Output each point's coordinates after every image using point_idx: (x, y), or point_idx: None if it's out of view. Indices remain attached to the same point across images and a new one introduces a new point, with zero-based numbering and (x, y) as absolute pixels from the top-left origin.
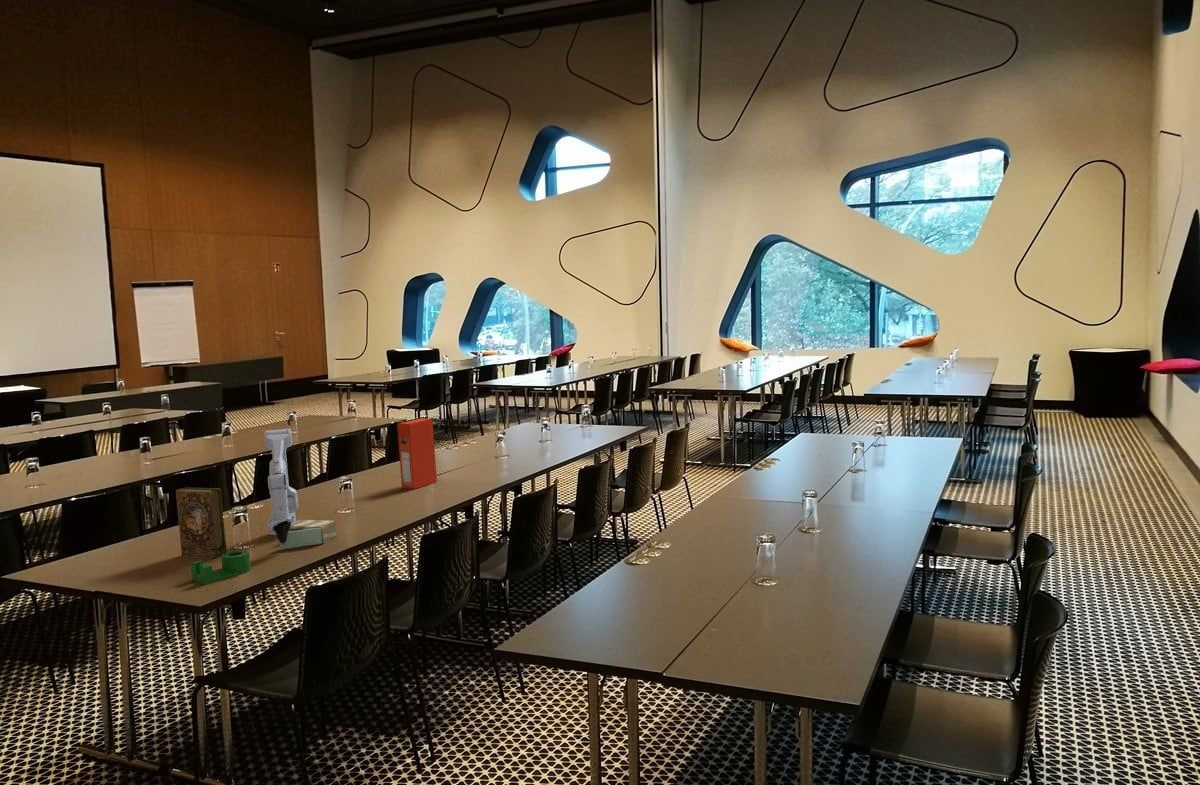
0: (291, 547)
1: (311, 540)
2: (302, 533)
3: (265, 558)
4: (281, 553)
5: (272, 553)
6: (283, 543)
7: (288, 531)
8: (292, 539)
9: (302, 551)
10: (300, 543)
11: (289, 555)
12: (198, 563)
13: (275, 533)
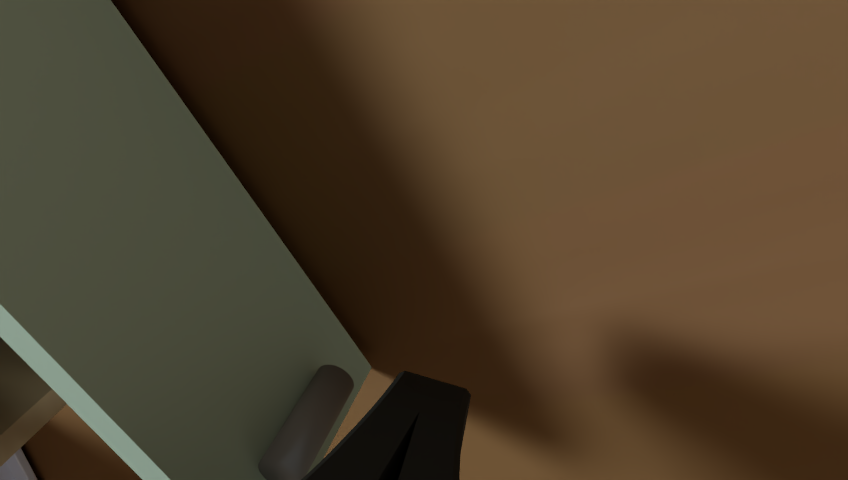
0: (291, 254)
1: (38, 3)
2: (11, 208)
3: (764, 443)
4: (524, 308)
5: (517, 406)
6: (337, 382)
7: (7, 429)
8: (208, 309)
9: (417, 6)
10: (187, 165)
11: (664, 153)
12: None
13: (10, 472)
